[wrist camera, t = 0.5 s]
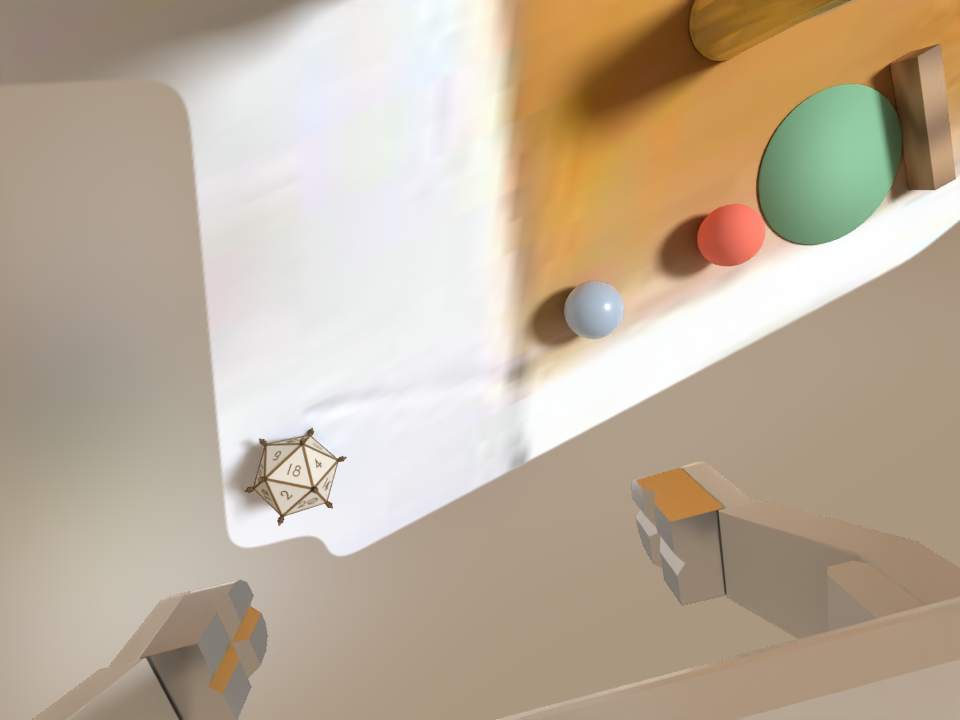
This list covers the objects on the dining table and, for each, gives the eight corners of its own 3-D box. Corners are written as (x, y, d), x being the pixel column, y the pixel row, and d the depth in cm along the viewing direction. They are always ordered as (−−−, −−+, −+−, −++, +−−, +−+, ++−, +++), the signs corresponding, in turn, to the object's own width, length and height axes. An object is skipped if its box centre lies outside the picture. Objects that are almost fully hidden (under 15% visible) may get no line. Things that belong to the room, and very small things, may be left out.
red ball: (686, 207, 44) (720, 210, 38) (742, 199, 44) (783, 201, 39) (684, 265, 46) (717, 275, 40) (738, 256, 46) (776, 265, 41)
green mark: (765, 95, 41) (767, 95, 41) (914, 74, 41) (916, 74, 41) (752, 254, 46) (753, 254, 46) (884, 233, 46) (886, 233, 46)
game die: (328, 424, 52) (372, 450, 45) (308, 497, 52) (349, 535, 45) (245, 414, 46) (281, 442, 39) (222, 497, 46) (253, 541, 38)
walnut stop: (889, 63, 41) (917, 56, 38) (911, 51, 41) (940, 43, 38) (909, 189, 45) (935, 190, 43) (928, 179, 45) (955, 179, 43)
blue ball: (555, 280, 45) (571, 292, 40) (610, 271, 45) (633, 283, 40) (559, 333, 47) (575, 351, 42) (612, 324, 47) (634, 342, 42)
